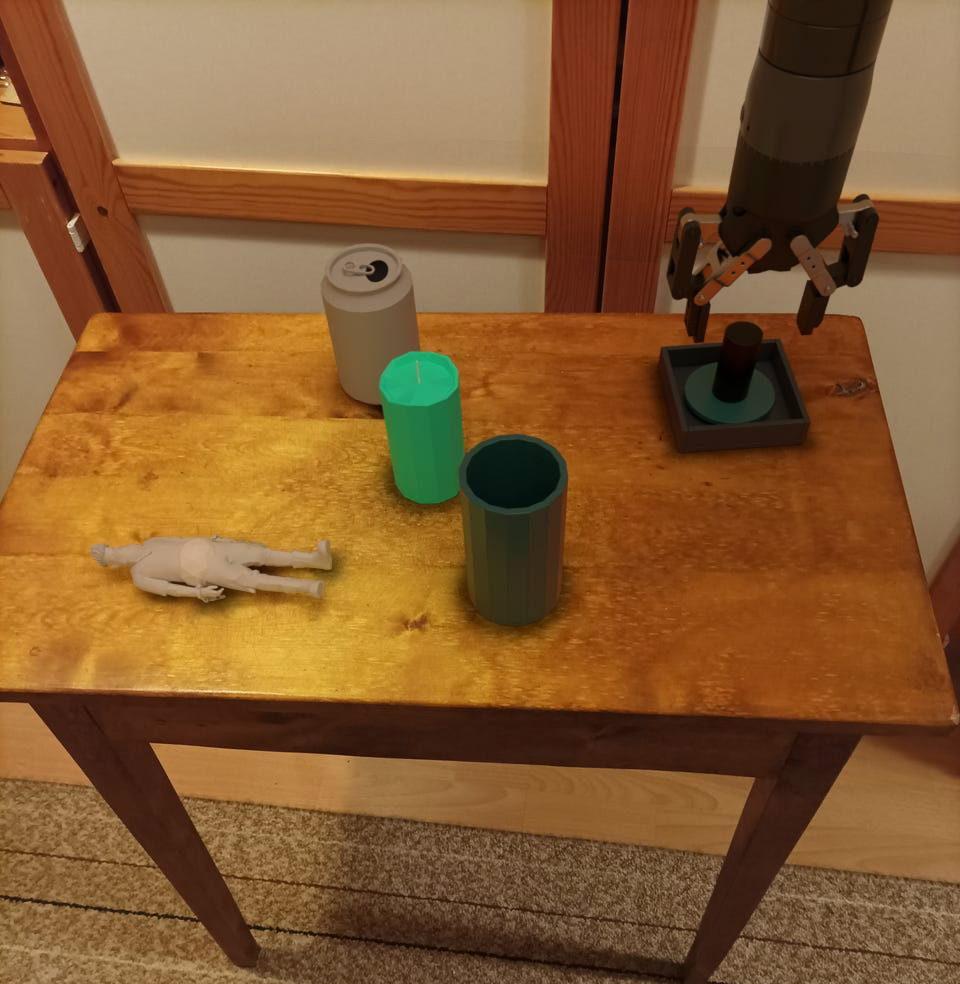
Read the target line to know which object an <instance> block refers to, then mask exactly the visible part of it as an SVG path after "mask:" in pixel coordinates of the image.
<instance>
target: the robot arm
mask: <svg viewBox="0 0 960 984" xmlns="http://www.w3.org/2000/svg"><path fill="white" fill-rule="evenodd" d="M893 3H894V0H767V2H766V7H765V12H764V17H763V23H762V27H761V28H762V29H761V34H760V39H759V40H760V41H759V45H758V49H757V54H756V56H755V60H754V63H753V66H752V69H751V72H750V75H749V79H748V83H747V86H746V91H745V97H744V101H743V104H742V105H741V108H740V114H739V128H738V134H737V139H736V147H735V151H734V157H733V161H732V167H731V171H730V176H729V183H728V189H727V196H726V200H725V201H724V204H723V206H722V208H721V209H720V210H719V211H718V213H715V214H714V213H713V214H711V213H710V214H697V213H696V210H695V208H694V207H692V206H685V207H683V208H682V209H681V210H680V211H679V213H678V215H677V220H676V224H675V230H674V235H673V239H672V244H671V249H670V253H669V259H668V264H667V268H666V273H665V274H666V275H665V276H666V280H667V284H668V288H669V291H670V295H671V298H672V299H673V300H675V301H680V300H683V299H685V300H686V303H685V304H686V305H685V310H684V316H683V323H684V326H685V330H686V333H687V337H688V338H692V342H693V343H694V344H704V342H705V339H706V334H707V333H706V332H707V328H708V323H709V317H710V312H711V306H712V305H711V301H712V299H713V298H714V297H716V295H717V294H718V293H720V291H722V289H724V288H729V287H731V286H732V285H733V284H734V283H735V282H736V281H737V280H738V279H739V278H740V277H741V276H742V275H743V274H744V273H745V272H747V275H755V274H756V275H757V274H762V273H765V272H768V271H773V272H779V273H783V272H791V271H792V268H794V267H797V266H798V265H801V266H802V268H803V270H804V272H805V273H806V275H807V276H808V278H809V279H806V281H805V286H804V289H803V292H802V295H801V299H800V300H801V301H800V303H799V307H798V310H797V314H796V317H795V320H796V321H795V322H796V326H797V329H798V331H799V333H800V335H801V336H811V335H812V334H813V332H814V329H816V328H819V327H820V326H821V324H822V323H823V320H824V318H825V317H824V316H825V314H826V310H827V307H828V305H829V301H830V297H831V295H833V294H834V293H835V292H836V290H837V289H839V288H842V287H845V286H847V288H855V287H857V286H859V285H860V284H861V283H862V282H863V279H864V276H865V272H866V269H867V265H868V261H869V258H870V254H871V250H872V246H873V245H874V244H873V243H874V240H875V236H876V232H877V228H878V225H879V221H880V215H879V214H878V211H877V208H876V206H875V205H874V203H873V201H872V200H871V198H870V196H869V195H868V194H867V193H861V194H858V195H857V196H855V197H854V198H853V200H852V202H851V203H850V202H849V203H843V204H838V202H839V201H840V198H841V196H842V192H843V189H844V185H845V182H846V179H847V175H848V172H849V168H850V165H851V162H852V159H853V155H854V152H855V148H856V145H857V142H858V139H859V134H860V131H861V128H862V125H863V121H864V117H865V114H866V111H867V107H868V105H869V99H870V97H871V91H872V87H873V79H874V72H875V66H876V62H877V59H878V54H879V53H880V48H881V44H882V42H883V38H884V34H885V31H886V27H887V24H888V21H889V17H890V14H891V11H892V6H893ZM838 225H840V228H841V230H842V233H843V239H842V243H841V246H840V250H839V254H838V259H837V261H836V262H833V263H830V264H827V262H826V260H825V258H824V257H823V256H822V254H821V252H820V250H819V248H818V247H819V246H820V245H821V244H822V243H823V242H824V241H825V240H826V239H827V238H828V237H829V236H830V235H831V234H832V233H833V232H834V231H835V229H836V228H837V227H838ZM713 235H718V238H719V240H718V241H717V242H716V243H715V244H714V246H713V247H712V248H711V249H710V250H709V251H708V253H707V256H706V259H705V260H704V261H703V262H702V264H700V266H699V267H697V268H696V269H695V271H694V267H695V264H696V263H695V262H696V258H697V254H698V251H702V250H703V249H705V246H706V245H707V243H708V241H709V239H710V237H712V236H713ZM730 256H731V258H732V259H730V261H729V262H728V259H729V257H730Z"/></svg>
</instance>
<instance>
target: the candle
mask: <svg viewBox="0 0 960 984" xmlns="http://www.w3.org/2000/svg"><path fill="white" fill-rule="evenodd" d="M379 390H380V396H381V402H382V405H381V406H382V407H381V408H382V413H383V419H384V425H385V431H386V436H387V442H388V443H387V444H388V447H389V448H388V449H389V455H390V460H391V466H392V471H393V478H394V483H395V486H396V488H397V489H398V491H399V492H400V493H401V495H402V496H403V498H405V499H408V500H410V501H412V502H415V503H418V504H420V505H422V504H423V505H426V504H427V505H429V504H441V503H443V502H446V501H447V500H450V499H452V498H454V497H456V496H457V495H458V494H459V493H460V485H459V467H460V465H461V463H462V461H463V459H464V457H465V455H466V453H465V439H464V427H463V425H464V424H463V412H462V411H463V410H462V401H461V385H460V374H459V369H458V368H457V367H456V365H455V364H454V362H453V361H452V359H451V358H450V357H449V355H445V354H441V353H438V352H434V351H421V352H408V353H406V354H404V355H401V356H399V357H397V358H395V359H393V360H391V362H390V363H389V365H388V366H387V368H386V369H385V371H384V372H383V374H382V375H381V378H380V384H379Z"/></svg>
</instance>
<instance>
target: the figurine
mask: <svg viewBox="0 0 960 984" xmlns="http://www.w3.org/2000/svg"><path fill="white" fill-rule="evenodd" d="M88 552H89V554H91V556H92V559H93V560H94V561H96V562H95V563H97V564H98V565H97V566H99V567H103V568H107V567H112V568H113V569H117V568H120V567H123V568H130V569H129V571H130V575H131V577H132V582H133V583H134V586H136V588H137V589H139V590H140V591H144V592H147V593H151V594H155V595H159V596H163V597H167V596H173V597H178V598H179V597H191V598H197V599H200V600H201V601H203V602H204V603H209V602H213V601H217V600H222V599H224V598H226V597H227V596H226V595H225V594H222V593H223V592H224V590H225V588H227V589H231V590H236V591H237V590H238V591H241V592H242V591H243V592H248V593H250V594H254V595H255V594H256V592H257V590H260V591H266V592H280V593H284V594H292V593H293V594H294V593H301V594H308V595H310V596H311V597H312V598H315V599H319V600H321V599H322V595H325V593H326V581H325V580H320V579H317V580H315V579H314V580H312V579H305V578H300V579H298V578H295V577H291V576H286V577H283V576H278V575H269V574H267V573H260V571H259V569H258V570H257V569H254V570H253V569H251V568H250V567H253V566H255V567H261V566H265V567H277V568H279V567H281V568H282V567H292V569H298V568H301V569H304V568H312V569H320V570H324V571H329V570H332V568H333V557H332V554H331V553H330V552H331V542H330V540H329V539H323V540H319V541H318V542H317V545H316V550H315V551H312V552H311V551H310V552H306V551H301V550H299V549H293V550H292V551H284V550H278V549H272V548H270V547H268V548H267V545H266V544H265V543H263V542H259V541H253V540H238V541H237V540H235V539H232V538H228V537H223V536H219V534H213V535H212V536H192V537H182V536H152V537H150V538H147V539H146V540H144V542H143V543H142V544H139V543H138V544H136V543H134V542H133V543H129V544H128V545H119V546H116V547H113V546H109V545H107V544H106V542H102V543H101V542H99V543H95V544H91V545H90V547H89V548H88ZM172 582H175V583H176V582H177V583H178V584H175V583H172ZM179 583H185V584H186V585H181V584H179ZM218 587H221V588H220V589H218ZM215 589H218V590H215Z"/></svg>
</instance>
